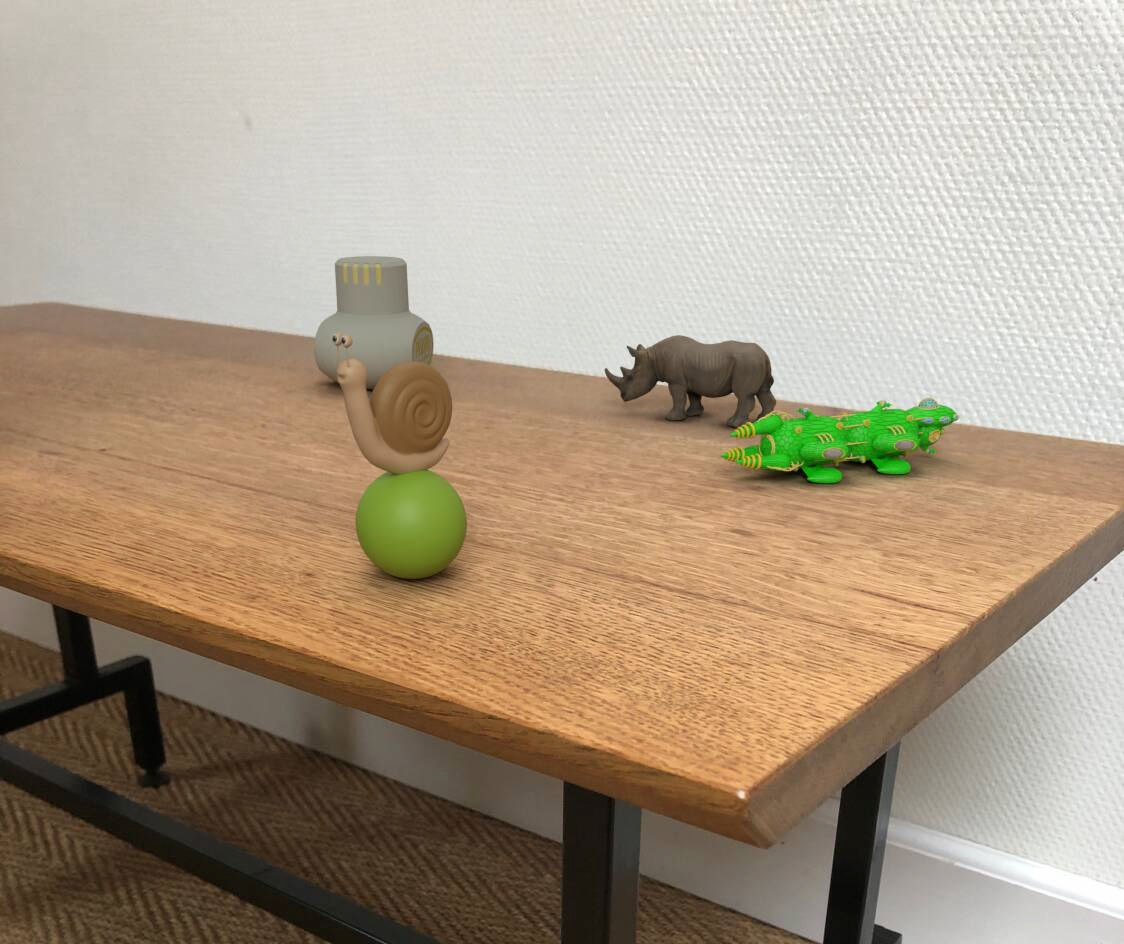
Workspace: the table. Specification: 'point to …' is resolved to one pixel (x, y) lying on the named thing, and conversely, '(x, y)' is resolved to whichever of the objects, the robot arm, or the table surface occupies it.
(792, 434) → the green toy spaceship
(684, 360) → the rhino figurine
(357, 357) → the air freshener
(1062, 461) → the table surface
